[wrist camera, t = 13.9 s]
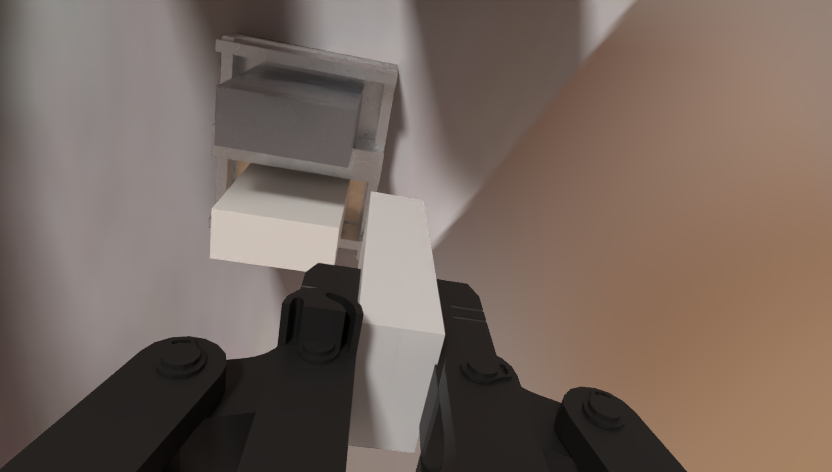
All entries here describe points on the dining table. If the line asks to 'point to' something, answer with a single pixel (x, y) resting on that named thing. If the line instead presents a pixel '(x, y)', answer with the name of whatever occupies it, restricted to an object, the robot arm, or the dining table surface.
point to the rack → (303, 117)
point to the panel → (280, 218)
